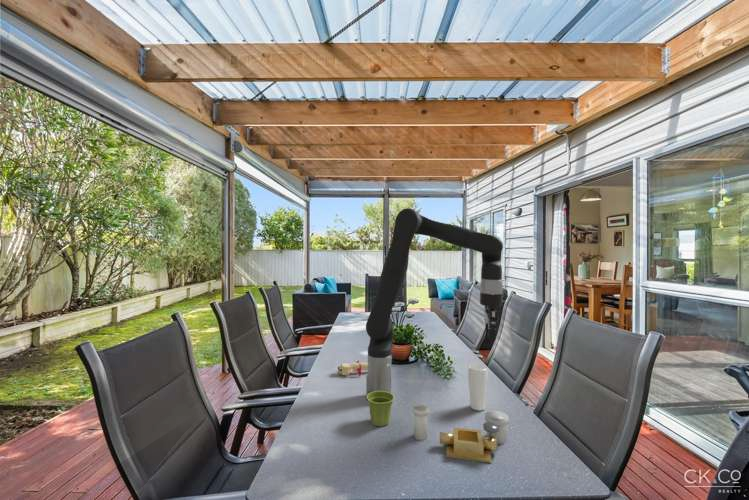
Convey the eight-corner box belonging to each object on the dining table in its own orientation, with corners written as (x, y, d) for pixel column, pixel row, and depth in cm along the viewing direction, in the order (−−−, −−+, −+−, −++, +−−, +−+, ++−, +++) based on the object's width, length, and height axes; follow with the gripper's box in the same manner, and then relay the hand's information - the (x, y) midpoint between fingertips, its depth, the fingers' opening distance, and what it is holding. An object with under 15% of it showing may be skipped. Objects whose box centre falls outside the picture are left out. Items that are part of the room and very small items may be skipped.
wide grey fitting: (485, 443, 102) (485, 420, 102) (483, 431, 109) (483, 409, 109) (510, 446, 101) (510, 422, 101) (506, 433, 108) (506, 411, 108)
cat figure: (385, 370, 168) (335, 370, 163) (387, 353, 168) (336, 351, 163) (391, 378, 158) (337, 377, 153) (392, 359, 158) (339, 358, 153)
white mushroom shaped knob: (411, 440, 104) (411, 410, 104) (413, 431, 109) (413, 403, 109) (428, 442, 103) (428, 412, 103) (429, 433, 108) (429, 405, 108)
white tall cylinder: (488, 413, 121) (488, 371, 121) (468, 411, 123) (468, 369, 123) (486, 404, 128) (486, 364, 128) (467, 403, 129) (467, 363, 129)
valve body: (439, 456, 96) (439, 429, 96) (440, 437, 106) (440, 412, 106) (501, 464, 92) (501, 436, 92) (496, 443, 102) (496, 418, 102)
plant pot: (397, 418, 118) (397, 392, 118) (389, 431, 109) (389, 404, 109) (372, 413, 121) (372, 389, 121) (362, 426, 112) (362, 400, 112)
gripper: (478, 289, 129) (477, 331, 129) (482, 293, 115) (481, 341, 115) (499, 289, 128) (498, 332, 128) (505, 294, 114) (504, 343, 114)
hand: (490, 336), depth 122 cm, fingers open, 8 cm apart
